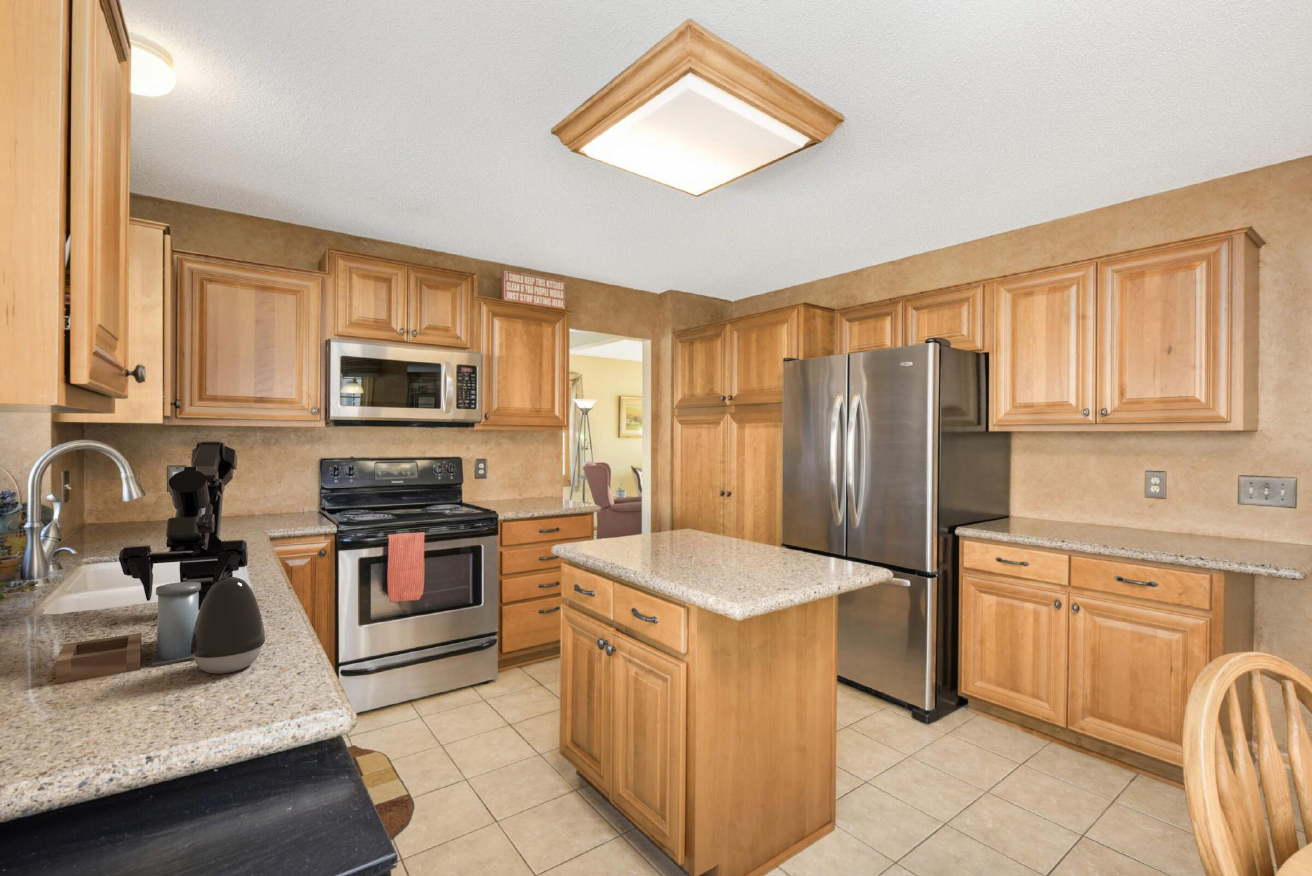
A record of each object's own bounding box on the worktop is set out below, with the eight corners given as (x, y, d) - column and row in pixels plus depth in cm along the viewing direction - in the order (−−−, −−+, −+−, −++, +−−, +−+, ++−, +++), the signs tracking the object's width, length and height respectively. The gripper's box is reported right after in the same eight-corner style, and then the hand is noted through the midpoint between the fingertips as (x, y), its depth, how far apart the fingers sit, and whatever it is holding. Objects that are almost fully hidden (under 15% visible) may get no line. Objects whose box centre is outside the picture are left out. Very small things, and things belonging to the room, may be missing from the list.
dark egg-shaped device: (256, 652, 110) (257, 567, 110) (271, 668, 103) (272, 577, 103) (185, 667, 103) (186, 576, 103) (196, 685, 96) (196, 587, 96)
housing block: (63, 665, 103) (63, 644, 103) (141, 652, 110) (141, 633, 110) (55, 683, 96) (56, 661, 96) (139, 669, 102) (140, 648, 102)
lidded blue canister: (149, 655, 107) (150, 586, 107) (191, 646, 112) (192, 580, 112) (162, 663, 104) (163, 591, 104) (205, 653, 109) (206, 585, 109)
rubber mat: (151, 655, 108) (151, 653, 108) (201, 647, 113) (201, 645, 113) (151, 667, 103) (151, 664, 103) (203, 658, 107) (203, 655, 107)
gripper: (122, 501, 110) (102, 576, 100) (247, 497, 119) (240, 566, 109) (133, 539, 117) (116, 612, 107) (250, 532, 126) (244, 599, 116)
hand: (180, 596), depth 110 cm, fingers open, 9 cm apart
